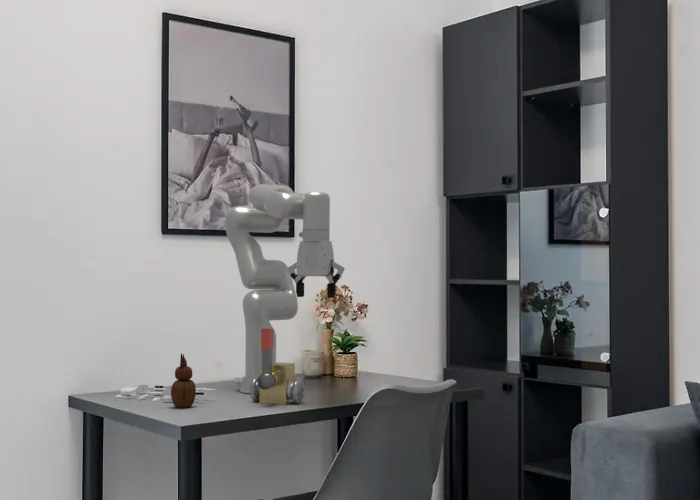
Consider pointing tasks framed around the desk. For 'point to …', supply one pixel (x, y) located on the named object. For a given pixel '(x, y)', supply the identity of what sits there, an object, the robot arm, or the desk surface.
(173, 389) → the wooden figurine
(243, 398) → the desk surface
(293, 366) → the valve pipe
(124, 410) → the desk surface
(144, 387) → the miniature set
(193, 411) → the desk surface
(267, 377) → the lever
